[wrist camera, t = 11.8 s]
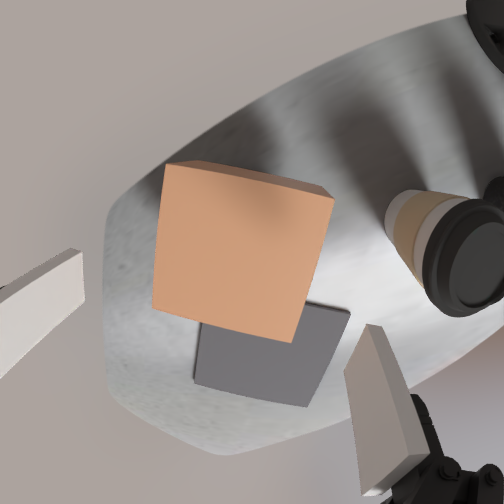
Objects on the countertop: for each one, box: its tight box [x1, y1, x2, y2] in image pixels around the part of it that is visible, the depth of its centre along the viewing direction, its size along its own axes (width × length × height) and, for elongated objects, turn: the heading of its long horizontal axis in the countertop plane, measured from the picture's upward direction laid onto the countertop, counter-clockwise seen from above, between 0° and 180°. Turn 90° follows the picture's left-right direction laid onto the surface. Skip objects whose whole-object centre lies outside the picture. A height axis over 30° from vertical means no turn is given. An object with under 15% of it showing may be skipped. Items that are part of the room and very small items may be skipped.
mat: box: [194, 303, 351, 407], centre depth 36 cm, size 17×17×1 cm
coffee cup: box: [384, 190, 504, 317], centre depth 22 cm, size 9×9×15 cm
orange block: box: [152, 160, 335, 343], centre depth 22 cm, size 11×11×7 cm
